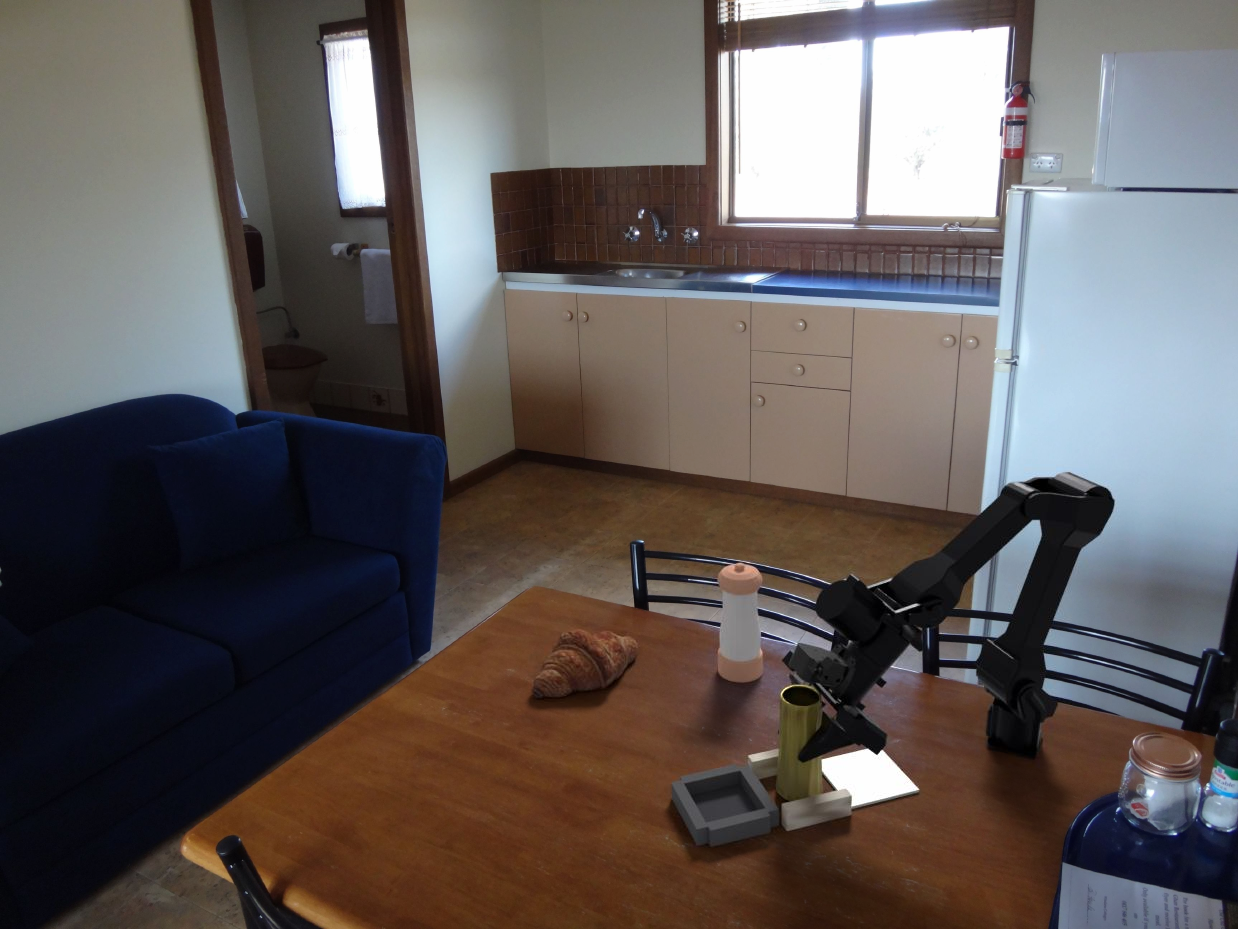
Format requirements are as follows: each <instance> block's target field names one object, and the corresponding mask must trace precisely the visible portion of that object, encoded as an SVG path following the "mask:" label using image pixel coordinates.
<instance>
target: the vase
mask: <svg viewBox="0 0 1238 929" xmlns="http://www.w3.org/2000/svg"><path fill="white" fill-rule="evenodd" d="M822 700H823V698H822V695H821V694H820V692H819V691H817V690H816V689H815V688H812V687H810V686H806V685H791V684H790V685H788V686H786V687H784V688H783V689H782V690H781V691H780V694H779V726H778V727H779V728H778V731H779V734H778V749H779V752H778V769H777V775H776V783H775V789H776V791H777V793H778V794H779V796H781V797H782V798H783V799H784V800H786V801H788V802H792V801H796V800H800V799H804V798H808V797H812V796H816V795H820V794H824V793H823V792H824V785H823V774H822V759H823V755H822V756H819V757H817V758H814V759H812V760H810V761H807V762H805V763H802V762H801V761H799V760H798V758H797V757H798V755H799V754H800V752H801V751H802V749H803V748H804V746H805V745H806V744H807V743H808V741H809V740H810V739H811V737H812V736H813V735H814V734H815V732H816V731H817V730H818V728H819V727H820V726H821V720H822V711H823V708H822Z"/></svg>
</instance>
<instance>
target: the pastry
mask: <svg viewBox="0 0 1238 929" xmlns="http://www.w3.org/2000/svg"><path fill="white" fill-rule="evenodd" d="M638 652H639V644H638V643H637V642H636V640H635V639H634V638H633V637H631V636H620V635H618V634H617V633H615V632H612V631H611V630H604V631H600V632H598V633H594V634H593V635H592V634H591V633H589V632H587V631H586V630H583V629H578V628H575V629H573V628H571V629H569V630H565V631H563V632H562V633H561V634H560V636H559V638H558V639H557V641H556V642H555V643H554V645H552V651H551V653H550V654H549V655H547V656H546V657H545V658H544V660H543V662H542V665H541V669H540V670H539V673H538V674H537V675H536V677H535V678H534V679H533V685H532V688H531V693H532V695H533V697H534V698H536V699H537V698H542V699H544V698H547V697H550V699H555V698H557V699H558V697H559V698H563V697H562V696H564V697H566V696H565V695H567V696H568V694H570V693H571V694H572V693H577V692H576V691H579V692H578V693H588V692H591V691H595V689H596V690H605V689H606V688H608V687H609V686H610V685H611V684H612V683H613V682H614V681H615V680H618V679H619V678H620V677H621V676H622V674H623V672H624V671H625V669H626V668H627V666H629V664H632V663H633V662H634V660H635V659H636V658H637V655H638ZM587 691H588V692H587ZM571 694H570V695H571ZM543 697H544V698H543ZM551 697H552V698H551Z"/></svg>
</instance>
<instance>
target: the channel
mask: <svg viewBox="0 0 1238 929" xmlns="http://www.w3.org/2000/svg"><path fill="white" fill-rule="evenodd" d="M778 752H779V748H775V749H770V750H767V751H762V752H757V753H753V754H748V755H747V765H749V767H750V768H751V769H752V771H753V772H754V774H755V775H756V777H757V778H758V780H762V779H766V778H769V777H770V778H771V777H773V776H777V769H778ZM852 810H853V809H852V795H851V794H850V792H849V791H848V790H847V789H846V788H845V789H841V790H837V791H836V790H833V791H829V792H826V793H822V794H820V795H816V796H812V797H808V798H804V799H800V800H796V801H792V802H791V801H788V802H783V803H781V825H782V826H783V828H784V829H785V831H786V832H791V831H792V830H798V829H802V828H805V827H809V826H813V825H818V824H821V823H824V822H825V823H826V822H830V821H833V820H837V819H841V818H845V817H849V816H852Z"/></svg>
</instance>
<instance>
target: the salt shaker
mask: <svg viewBox="0 0 1238 929" xmlns="http://www.w3.org/2000/svg"><path fill="white" fill-rule="evenodd" d="M717 583H718V586H719V587H720V589H721V590H722V615H721V621H720V628H719V634H718V635H719V648H718V650H717V672H718V674H719V676H720V677H721V678H723V679H724V680H726V681H729V682H732V683H733V682H734V683H750V682H753V681H756V680H758V679H759V678H761V676H762V675H763V671H764V670H763V668H764V662H763V660H764V656H763V655H764V653H763V650H762V648H761V643H762V642H761V640H762V636H761V635H762V631H761V625H760V620H759V612H758V591H759V589H760V588H761V586H762V585H763V576H762V574H761V573H760V571H759V570H758V569H757V567H755V566H752V565H750V564H745V563H743V562H738V563H737V562H736V563H735V564H730V565H727V566H725V567H723V568H722V569H721V571H719V573H718V576H717Z"/></svg>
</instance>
